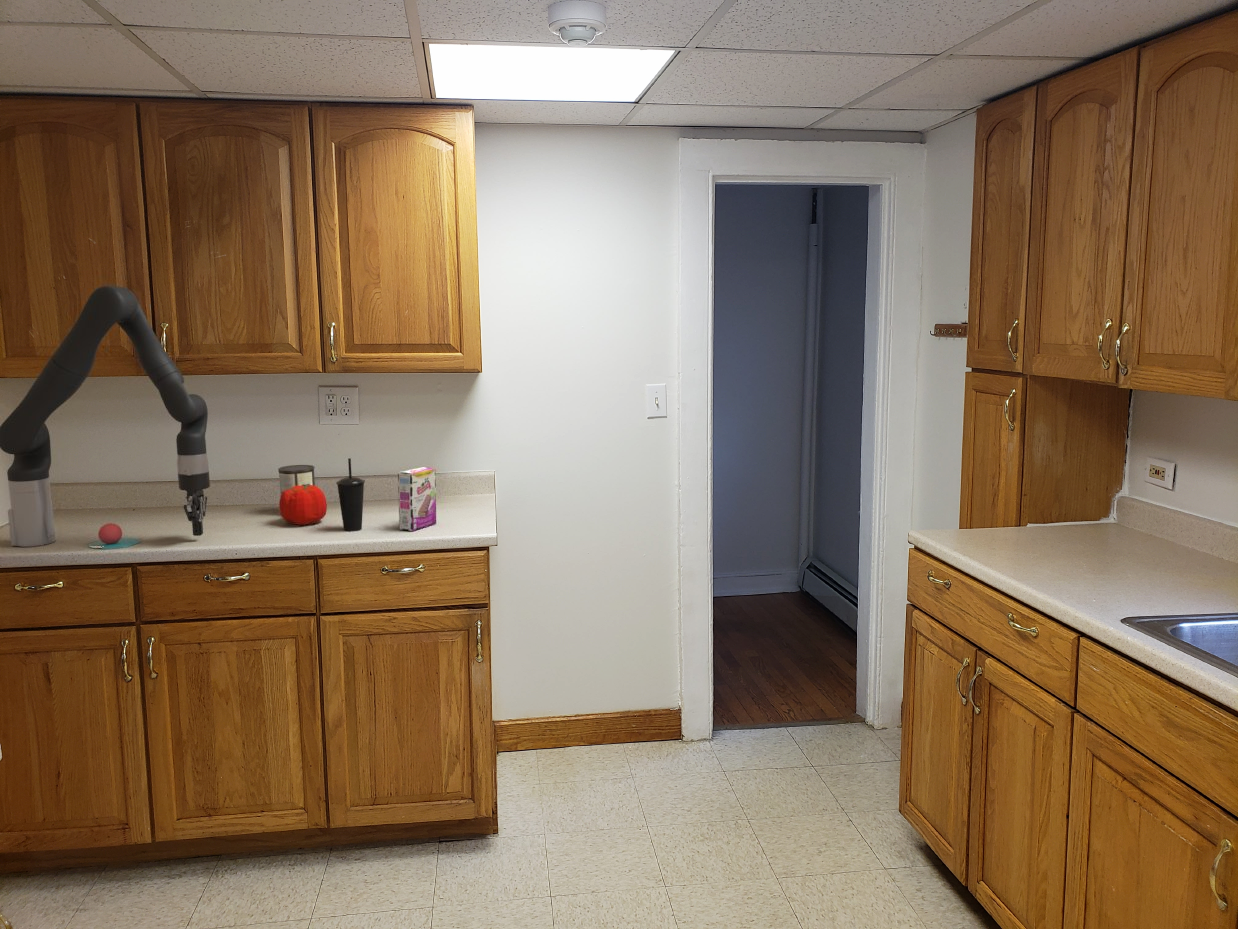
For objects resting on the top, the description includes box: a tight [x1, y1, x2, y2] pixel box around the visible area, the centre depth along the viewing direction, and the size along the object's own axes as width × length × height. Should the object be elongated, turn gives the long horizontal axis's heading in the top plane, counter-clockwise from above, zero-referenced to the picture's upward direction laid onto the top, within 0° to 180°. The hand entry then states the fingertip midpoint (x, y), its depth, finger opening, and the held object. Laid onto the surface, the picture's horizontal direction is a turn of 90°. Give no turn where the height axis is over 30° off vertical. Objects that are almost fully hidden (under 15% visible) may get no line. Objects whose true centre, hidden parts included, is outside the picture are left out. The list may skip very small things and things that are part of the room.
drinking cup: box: [335, 457, 366, 532], centre depth 263 cm, size 8×8×20 cm
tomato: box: [278, 485, 328, 526], centre depth 272 cm, size 14×13×10 cm
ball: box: [97, 522, 123, 544], centre depth 248 cm, size 6×6×6 cm
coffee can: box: [278, 464, 316, 496], centre depth 285 cm, size 10×10×14 cm
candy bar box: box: [397, 466, 437, 532], centre depth 266 cm, size 11×5×16 cm, turn 154°
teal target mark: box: [88, 537, 141, 550], centre depth 249 cm, size 12×12×1 cm
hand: (198, 535), depth 252 cm, fingers closed
